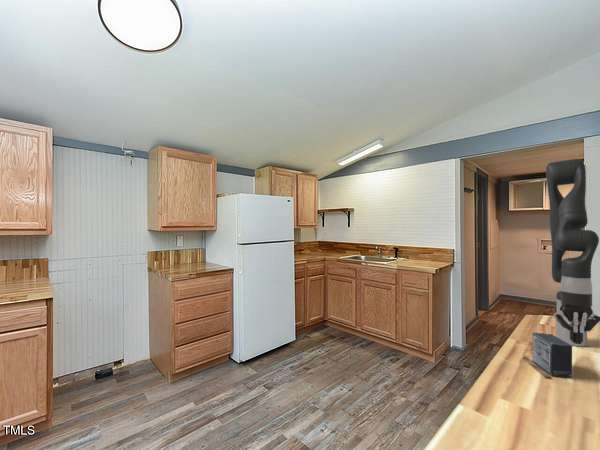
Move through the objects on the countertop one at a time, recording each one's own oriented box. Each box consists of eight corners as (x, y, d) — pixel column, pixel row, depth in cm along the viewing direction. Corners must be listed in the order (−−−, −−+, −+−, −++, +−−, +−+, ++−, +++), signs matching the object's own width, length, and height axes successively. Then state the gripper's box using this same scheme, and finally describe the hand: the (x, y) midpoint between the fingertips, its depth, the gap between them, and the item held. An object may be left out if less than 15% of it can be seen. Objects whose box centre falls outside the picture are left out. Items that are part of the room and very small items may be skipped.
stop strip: (522, 358, 106) (522, 356, 106) (527, 358, 105) (527, 357, 105) (545, 378, 92) (545, 376, 92) (551, 378, 92) (551, 376, 92)
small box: (574, 378, 92) (574, 345, 92) (550, 376, 93) (550, 343, 93) (552, 363, 102) (552, 333, 102) (531, 361, 103) (531, 332, 103)
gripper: (591, 288, 98) (591, 340, 98) (545, 287, 101) (546, 337, 101) (609, 294, 91) (609, 349, 91) (560, 292, 94) (560, 345, 94)
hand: (576, 342), depth 96 cm, fingers closed
